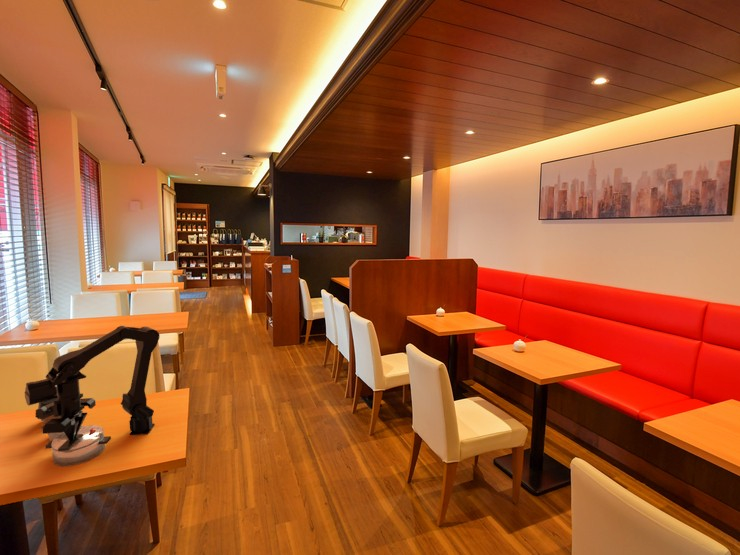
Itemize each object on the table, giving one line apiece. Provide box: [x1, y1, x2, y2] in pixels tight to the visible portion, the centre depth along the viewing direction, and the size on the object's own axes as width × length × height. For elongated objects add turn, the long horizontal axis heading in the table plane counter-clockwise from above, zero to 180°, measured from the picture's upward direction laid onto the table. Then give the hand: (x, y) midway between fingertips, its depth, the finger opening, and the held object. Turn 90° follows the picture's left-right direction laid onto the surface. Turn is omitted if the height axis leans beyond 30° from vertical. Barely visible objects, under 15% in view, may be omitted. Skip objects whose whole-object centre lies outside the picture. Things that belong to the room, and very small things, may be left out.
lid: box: [51, 424, 105, 452], centre depth 128 cm, size 14×15×2 cm
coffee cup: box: [40, 395, 64, 441], centre depth 138 cm, size 8×8×15 cm
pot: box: [44, 434, 112, 467], centre depth 129 cm, size 18×14×5 cm
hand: (72, 438), depth 126 cm, fingers closed, pressing on lid
